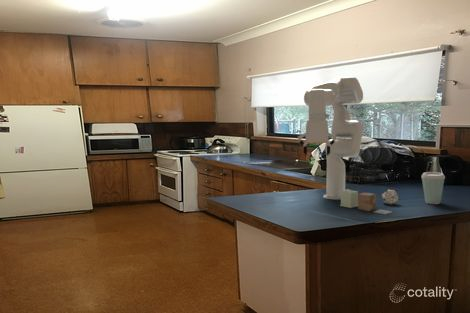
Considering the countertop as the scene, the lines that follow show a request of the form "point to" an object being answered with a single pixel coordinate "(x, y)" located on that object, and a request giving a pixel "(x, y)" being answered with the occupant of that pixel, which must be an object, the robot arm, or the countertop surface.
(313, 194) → the countertop surface
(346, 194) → the sage block
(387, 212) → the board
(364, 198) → the walnut block
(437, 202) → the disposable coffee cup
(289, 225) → the countertop surface
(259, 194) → the countertop surface
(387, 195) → the cream knobbly ball
